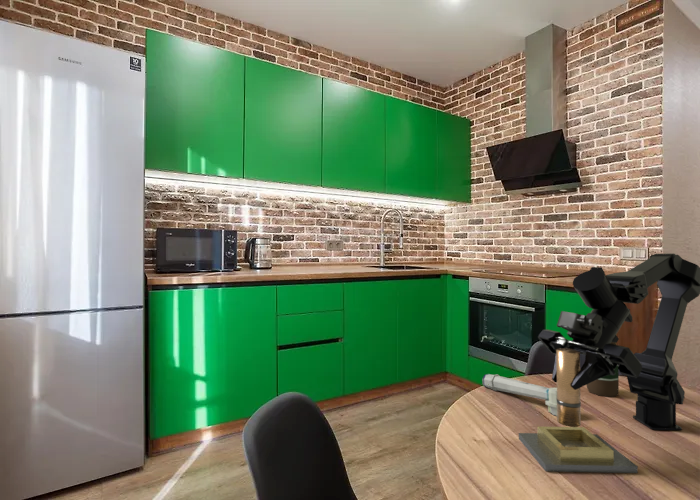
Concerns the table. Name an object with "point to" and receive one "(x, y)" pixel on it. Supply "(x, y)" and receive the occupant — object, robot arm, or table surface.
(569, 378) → the tube
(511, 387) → the light grey long piece
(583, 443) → the framed base plate
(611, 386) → the beer bottle
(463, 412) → the table surface
